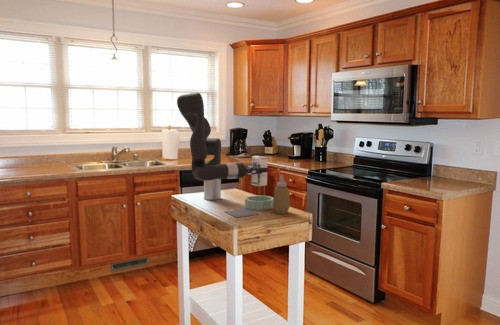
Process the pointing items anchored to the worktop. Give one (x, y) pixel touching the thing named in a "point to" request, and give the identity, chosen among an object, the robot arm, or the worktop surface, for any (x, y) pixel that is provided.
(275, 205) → the squeeze bottle
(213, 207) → the worktop surface
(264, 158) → the syrup box
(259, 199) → the bowl
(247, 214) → the mat
